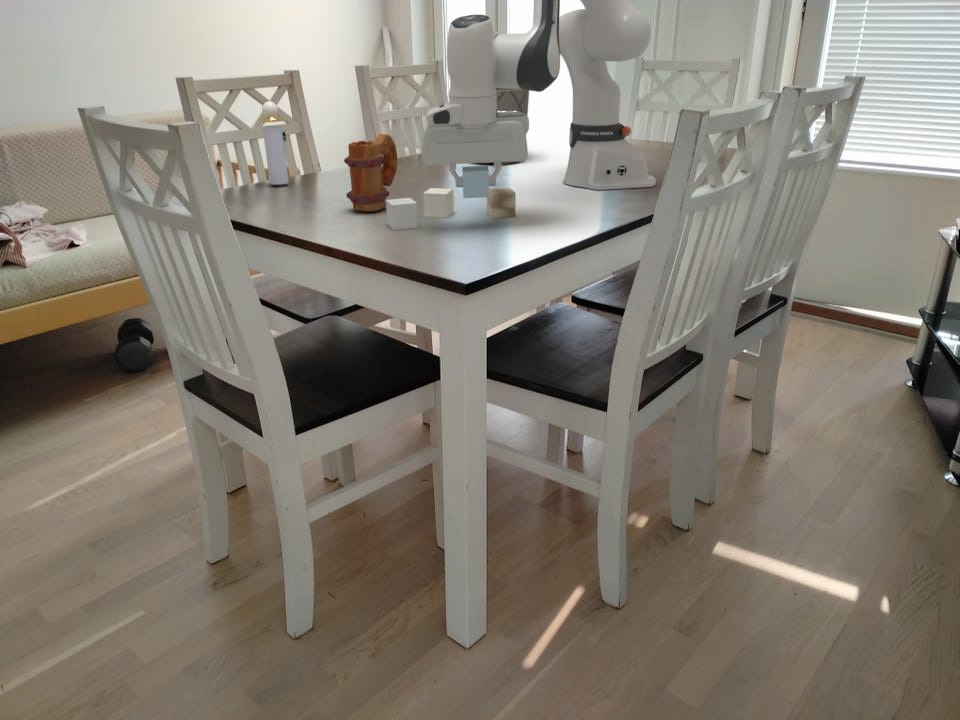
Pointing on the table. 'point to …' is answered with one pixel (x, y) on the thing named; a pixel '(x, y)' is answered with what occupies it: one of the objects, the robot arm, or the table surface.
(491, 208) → the birch cube
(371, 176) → the mug
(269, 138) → the perfume bottle
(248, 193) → the table surface
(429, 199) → the cream cube
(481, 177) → the pale blue cube
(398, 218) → the grey cube
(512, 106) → the planter
